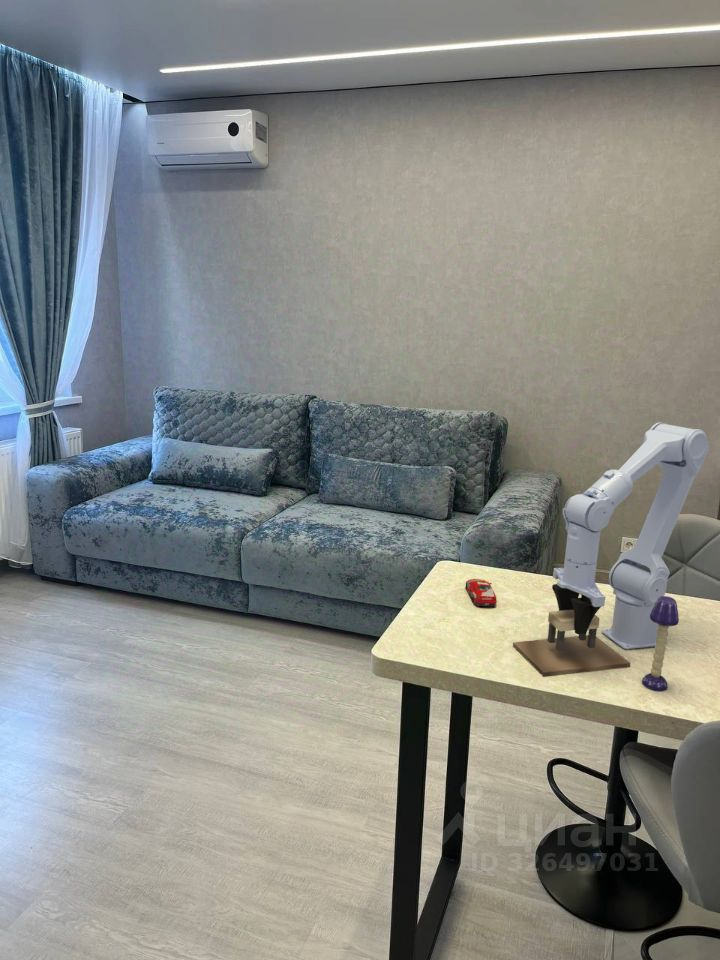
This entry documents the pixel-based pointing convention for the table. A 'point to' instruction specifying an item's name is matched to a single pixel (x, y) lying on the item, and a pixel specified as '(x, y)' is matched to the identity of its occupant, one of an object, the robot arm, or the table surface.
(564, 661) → the walnut board
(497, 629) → the table surface
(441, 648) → the table surface
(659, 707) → the table surface
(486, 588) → the race car
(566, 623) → the oak stool
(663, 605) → the toy lamp
